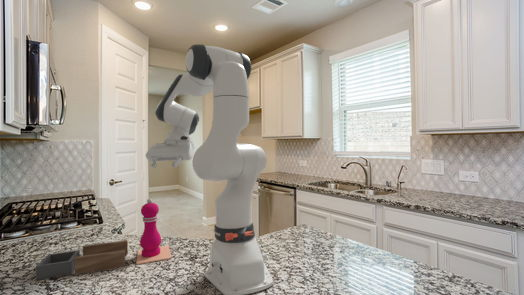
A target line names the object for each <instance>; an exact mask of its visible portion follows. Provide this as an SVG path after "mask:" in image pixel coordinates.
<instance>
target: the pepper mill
mask: <svg viewBox="0 0 524 295" xmlns="http://www.w3.org/2000/svg"><path fill="white" fill-rule="evenodd" d="M159 212H160V209H159V205H158V204H156V203H155V202H153V199H152V198H147V200H146V203H144V204H143V205H142V206H141V209H140V213H141V216H143V217H142V222H143V226H144V228H143V229H144V230H143V232H142V235H141V237H140V240H139V246H140V247H141V248H142V249H143V250H142V256H143V257H153V256H156V255H158V254H160V247H161V246H160V245H161V244H162V237H161V234H160V232H159V231H158V228H157V221H158V219H159V218H158V214H159Z"/></svg>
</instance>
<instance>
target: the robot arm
mask: <svg viewBox="0 0 524 295" xmlns="http://www.w3.org/2000/svg"><path fill="white" fill-rule="evenodd" d="M185 66H186V67H185V68H186V73H184V74H178V75H177V76H176V78H174V80H173V81H172V83H171V84H170V86H169V88H168V89H167V91H166V93H165V95H164V97H163V98H162V99H160V101H159V102H158V104H157V105H156V107H155V110H154V113H155V116H156V118H157V119H158V121H160V122H164V123H167V124H169V125H172V126H171V128H170V131H169V132H168V133H167V135H166V136H165V139H164V141H163V143H155V144H152V145H151V146H150V148H148V150H147V151H146V153H145V157H146V159H147V161H148V162H151V164H150V167H151V168H152V169H156V168H157V167H158V164H157V162H171V161H172V163H171V166H172V168H177V167H178V166H179V165H180V164H181V163H183V161H190V160H192V164H191V165H192V169H193V171H194V173H195V175H196V176H197V177H198V178H199V179H201V180H203V181H211V182H213V181H214V182H218V181H219V182H221V181H226V184H225V187H224V189H223V190H222V191H221V193H219V194H218V196H217V197H216V199H215V201H214V202H215V203H214V205H215V206H214V207H215V208H214V210H215V211H214V212H215V224H214V229H213V232H214V238H215V239H214V241H213V242H212V243H211V245H210V247H209V269H206V271H204V274H203V275H204V277H205V278H206V279H207V280H208V281H209V282H210V283H211V284H212V285H213V286H214V287H215V288H216V289H217V290H218V291H220V292H221V293H222V294H223V295H249V294H250V295H251V294H254V293H257V292H261V291H264V290H266V289H269V288H271V287H272V286H273V285H274V280H273V277H272V275H271V273H270V271H269V270H268V267H267V266H266V263H265V262H267V261H268V256H267V253H266V252H263V253H262V252H261V251H262V245H261V244H260V245H259V244H258V241H257V238H256V237H255V236H256V234H255V227H254V223H253V219H252V218H253V217H252V215H253V214H252V213H253V212H252V205H253V204H252V202H253V194H254V189H255V186H256V183H257V180H258V178H259V177H260V175H261V174H262V172H263V171H264V170H265V169H266V166H267V155H266V153H265V151H264V148H262V147H260V146H259V145H255V144H251V143H238V139H239V135H240V134H241V132H242V131H243V130H244V129H246V128H247V127H248V125H249V123H250V92H249V82H248V80H249V79H250V75H251V74H252V63H251V60H250V58H249V56H248V55H246V54H244V53H242V52H236V51H233V50H231V49H226V48H223V47H221V46H214V45H213V46H212V45H205V44H202V43H201V44H200V43H199V44H192V45H190V47H189V48H188V50H187V53H186V56H185ZM211 92H212V122H211V123H212V124H211V127H210V131H209V133H208V136H207V138H206V139H205V140H204V142H203V143H202V144H201V145H200V146H198V148H197V149H196V150H195V144H194V142H193V140H192V138H191V137H190V135H192V134H194V133H195V131H196V129H197V126H198V124H199V122H200V116H199V114H198V112H197V111H196V110H193V109H192V108H189V107H187V106H184V105H182V104H180V103H178V102H176V101H175V99H176V97H177V96H178V95H186V96H188V95H189V96H192V97H193V96H194V97H204V96H207V95H209V94H210V93H211Z"/></svg>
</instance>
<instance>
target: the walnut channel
mask: <svg viewBox="0 0 524 295" xmlns="http://www.w3.org/2000/svg"><path fill="white" fill-rule="evenodd" d="M128 246H129V245H128V239H124V240H123V239H122V240H116V241H110V242H103V243H96V244H88V245H86V244H85V245H82V255H80V256H78V257H75V258H74V267H75V270H74V275H81V274H82V275H83V274H86V273H92V272H99V271H106V270H111V269H116V268H123V267H124V268H125V267H126V256H127V254H129V251H128V250H129V249H128V248H129V247H128Z"/></svg>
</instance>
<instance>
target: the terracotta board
mask: <svg viewBox="0 0 524 295" xmlns="http://www.w3.org/2000/svg"><path fill="white" fill-rule="evenodd" d="M159 247H160V254H158V255H156V256H153V257H143V256H142V250H143V248H142V249H138V250H137V255H136V256H137V257H136V264H135V265H136V266H138V265H143V263H145V264H149V262H151V263H155V261H157V262H162V261H168V260H172V255H171V251H170V245H163V246H159ZM167 259H168V260H167Z"/></svg>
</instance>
